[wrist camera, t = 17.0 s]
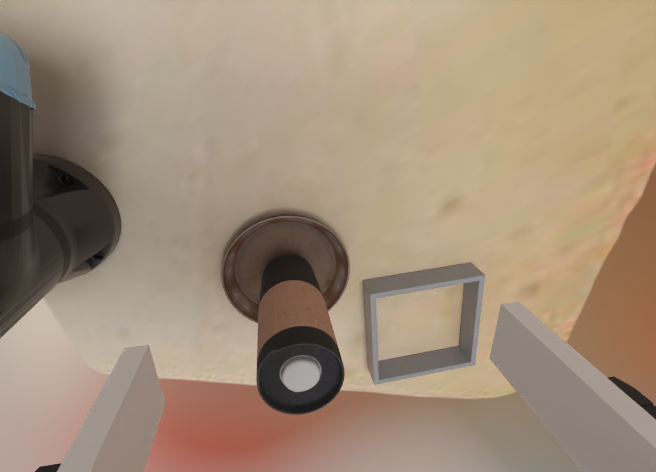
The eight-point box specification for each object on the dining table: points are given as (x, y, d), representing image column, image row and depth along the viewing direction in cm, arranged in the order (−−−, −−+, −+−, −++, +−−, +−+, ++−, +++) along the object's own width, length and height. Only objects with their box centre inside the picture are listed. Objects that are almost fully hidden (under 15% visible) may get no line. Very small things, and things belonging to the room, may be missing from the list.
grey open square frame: (367, 366, 60) (374, 384, 57) (363, 280, 53) (370, 294, 50) (462, 348, 62) (474, 364, 59) (470, 262, 55) (484, 275, 52)
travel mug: (319, 295, 50) (351, 403, 31) (266, 307, 49) (266, 425, 30) (310, 246, 47) (339, 332, 28) (254, 258, 46) (245, 354, 27)
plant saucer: (366, 275, 54) (372, 286, 51) (272, 335, 55) (273, 348, 52) (302, 183, 46) (305, 189, 44) (196, 255, 48) (192, 265, 45)
